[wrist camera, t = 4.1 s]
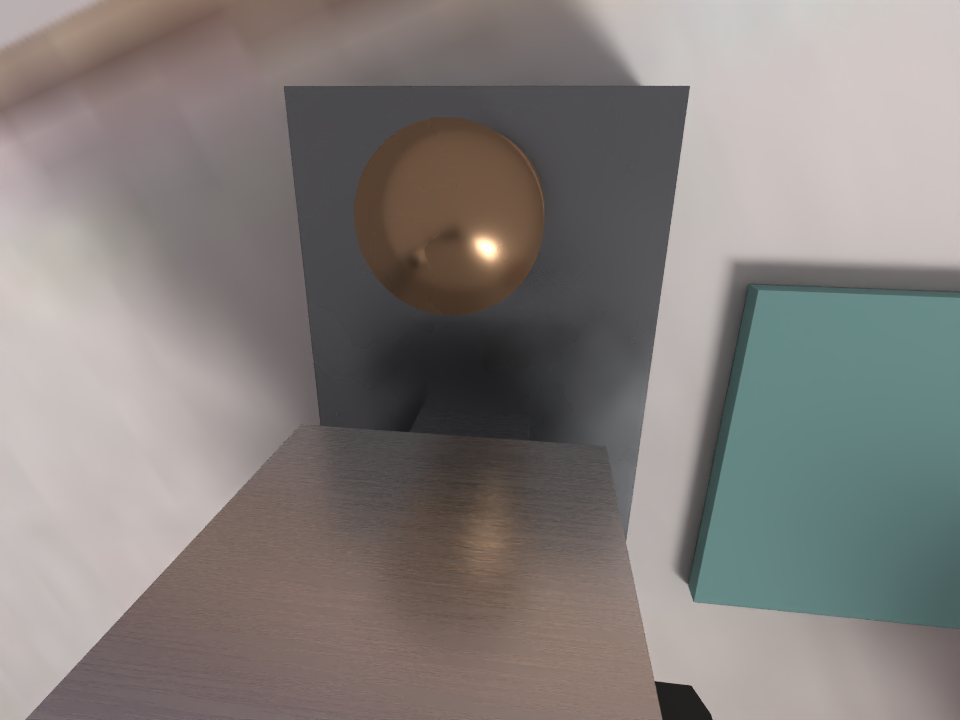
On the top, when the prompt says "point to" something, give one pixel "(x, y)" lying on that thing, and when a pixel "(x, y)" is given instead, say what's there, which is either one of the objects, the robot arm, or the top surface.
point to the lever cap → (388, 593)
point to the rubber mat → (838, 458)
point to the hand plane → (487, 257)
